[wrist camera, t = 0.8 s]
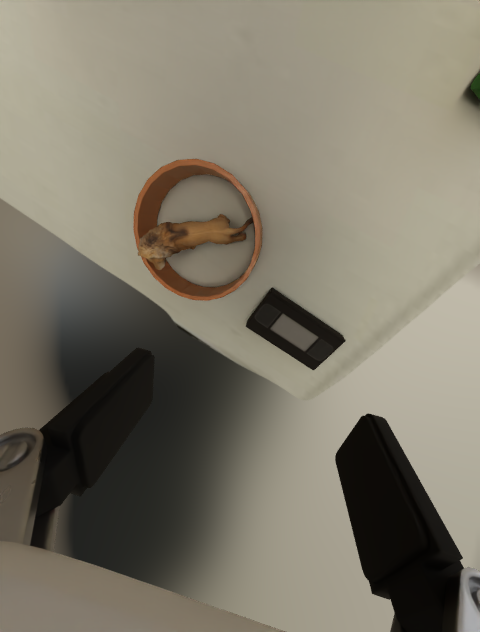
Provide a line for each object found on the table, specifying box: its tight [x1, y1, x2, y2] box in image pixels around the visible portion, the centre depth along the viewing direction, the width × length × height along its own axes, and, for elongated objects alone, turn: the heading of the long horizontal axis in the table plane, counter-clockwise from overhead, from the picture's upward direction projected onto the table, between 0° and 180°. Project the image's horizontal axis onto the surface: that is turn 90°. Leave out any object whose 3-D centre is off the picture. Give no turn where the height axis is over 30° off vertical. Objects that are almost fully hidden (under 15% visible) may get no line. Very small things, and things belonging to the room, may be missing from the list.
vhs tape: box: [246, 288, 345, 370], centre depth 35 cm, size 8×14×2 cm, turn 58°
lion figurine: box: [138, 214, 253, 270], centre depth 28 cm, size 15×5×9 cm, turn 108°
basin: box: [134, 159, 262, 300], centre depth 30 cm, size 17×17×5 cm
